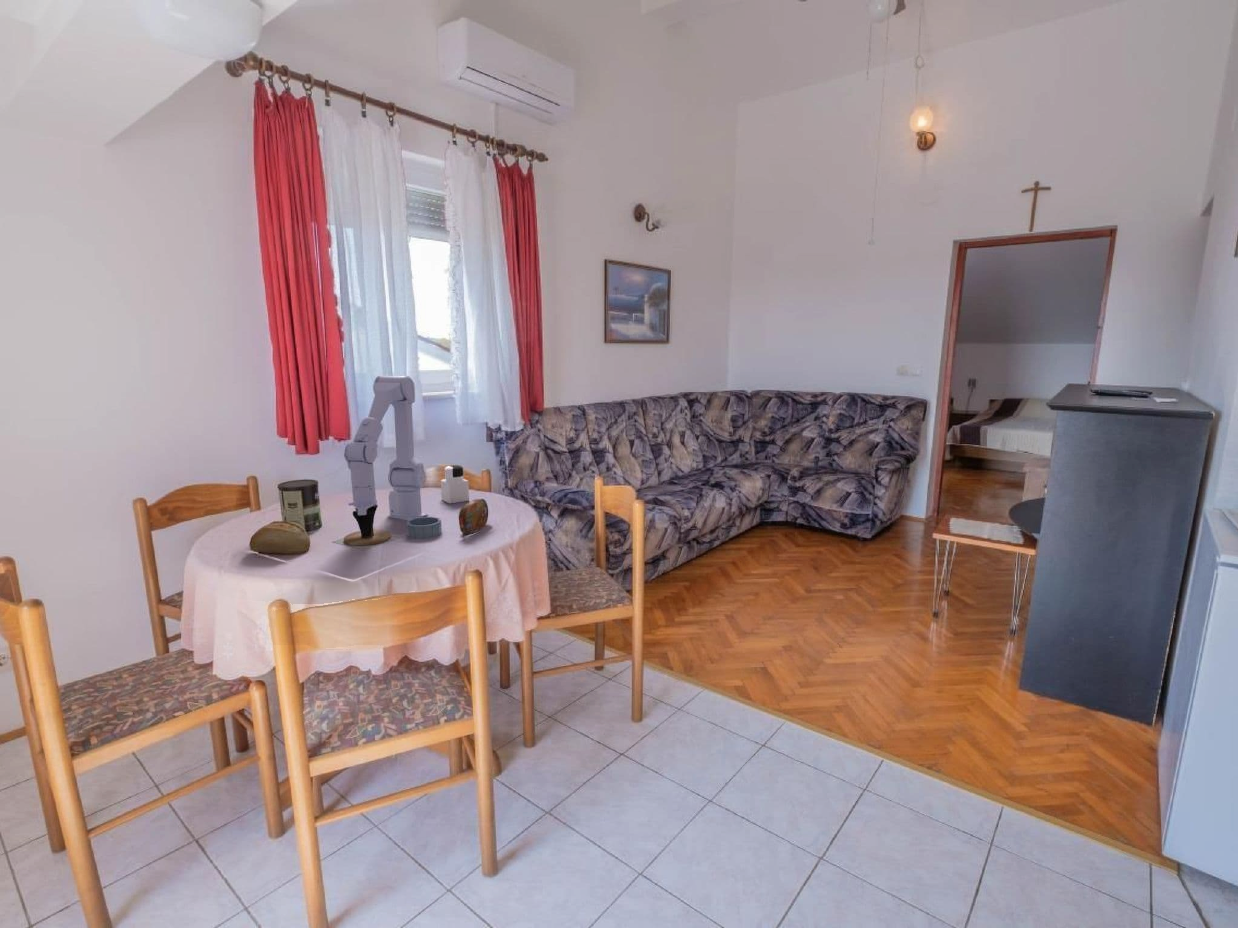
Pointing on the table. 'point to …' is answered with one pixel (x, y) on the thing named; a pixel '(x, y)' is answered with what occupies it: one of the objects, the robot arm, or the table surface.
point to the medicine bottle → (454, 485)
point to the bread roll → (280, 538)
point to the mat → (341, 541)
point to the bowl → (424, 527)
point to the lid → (367, 538)
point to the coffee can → (301, 503)
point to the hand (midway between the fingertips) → (367, 533)
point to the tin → (473, 516)
